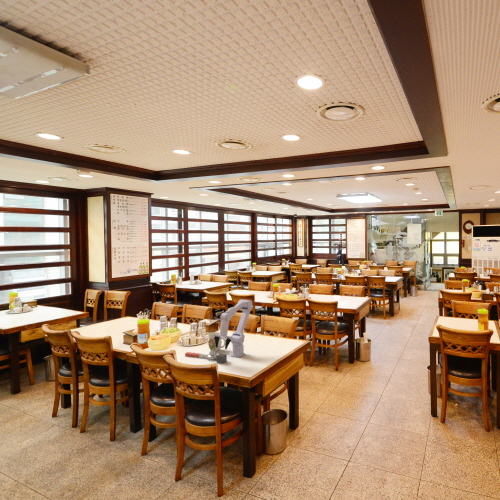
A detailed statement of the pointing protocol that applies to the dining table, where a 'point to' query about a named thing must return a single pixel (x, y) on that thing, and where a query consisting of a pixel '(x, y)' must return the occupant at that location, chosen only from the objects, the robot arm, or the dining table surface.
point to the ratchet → (202, 355)
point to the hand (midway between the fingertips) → (221, 348)
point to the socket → (221, 358)
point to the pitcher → (212, 342)
